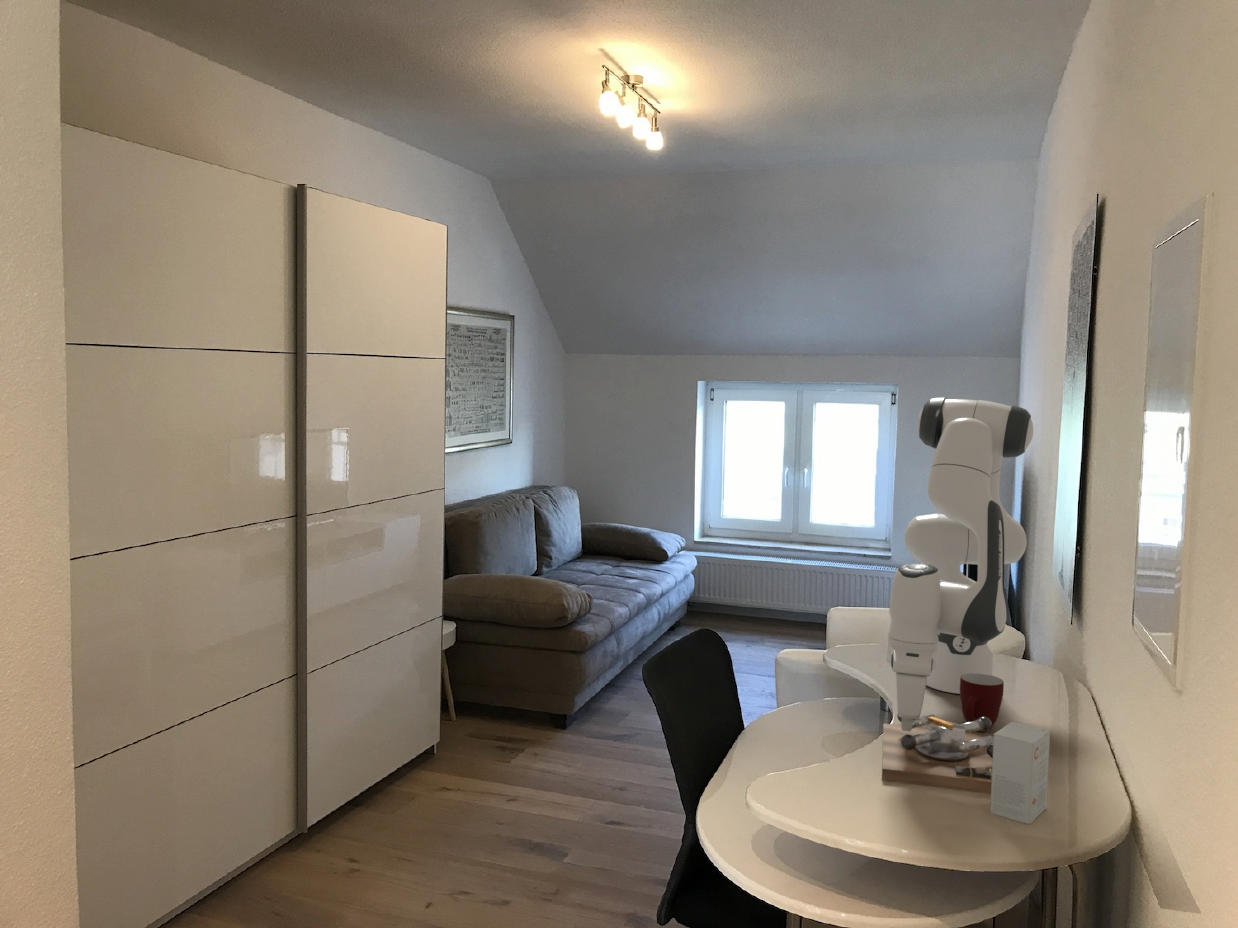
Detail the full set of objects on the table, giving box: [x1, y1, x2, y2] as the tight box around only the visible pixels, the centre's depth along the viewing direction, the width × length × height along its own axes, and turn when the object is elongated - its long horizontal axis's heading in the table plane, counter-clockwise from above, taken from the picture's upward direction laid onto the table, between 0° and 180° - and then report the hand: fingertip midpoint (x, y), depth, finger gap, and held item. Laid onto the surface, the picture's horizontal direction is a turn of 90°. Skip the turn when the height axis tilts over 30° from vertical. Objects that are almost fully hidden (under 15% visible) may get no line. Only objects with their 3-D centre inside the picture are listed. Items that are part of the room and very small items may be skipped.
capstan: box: [896, 713, 994, 761], centre depth 177 cm, size 23×23×5 cm
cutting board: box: [881, 723, 994, 794], centre depth 178 cm, size 24×22×4 cm
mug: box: [959, 673, 1005, 733], centre depth 195 cm, size 11×8×10 cm
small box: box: [989, 721, 1051, 825], centre depth 157 cm, size 8×6×13 cm
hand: (906, 729), depth 179 cm, fingers closed, pressing on capstan
